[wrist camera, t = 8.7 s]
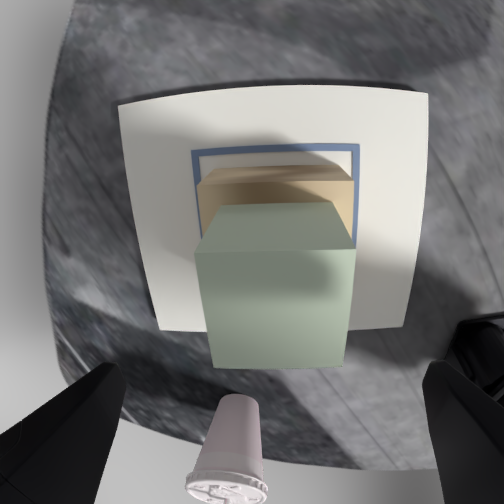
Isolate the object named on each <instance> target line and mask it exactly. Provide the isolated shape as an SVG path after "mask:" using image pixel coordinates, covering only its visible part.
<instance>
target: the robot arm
mask: <svg viewBox="0 0 504 504" xmlns="http://www.w3.org/2000/svg"><path fill="white" fill-rule="evenodd" d="M462 327H463V328H462ZM422 389H423V395H424V401H425V407H426V413H427V420H428V427H429V433H430V437H431V441H432V445H433V449H434V454H435V458H436V462H437V467H438V471H439V475H440V481H441V486H442V491H443V497H444V502H445V504H504V315H503V316H496V317H490V318H483V319H476V320H468V321H462V322H460V323H459V324H458V326H457V329H456V332H455V334H454V337H453V340H452V343H451V345H450V348H449V350H448V353H447V356H446V358H445V360H436V361H432V362H431V363H430V364H429V366H428V369H427V371H426V374H425V376H424V379H423V382H422ZM125 391H126V381H125V379H124V376H123V374H122V372H121V370H120V367H119V365H118V364H117V363H114V362H107V361H106V362H103V363H101V364H100V365H99V366H97V367H96V368H94V369H93V370H92V371H90V372H89V373H87V374H86V375H84V376H83V377H82V378H80V379H79V380H77V381H76V382H75V383H73V384H72V385H70V386H69V387H68V388H66V389H65V390H63V391H62V392H61V393H59V394H58V395H56V396H55V397H53V398H52V399H51V400H49V401H48V402H46V403H45V404H44V405H42V406H41V407H39V408H38V409H37V410H35V411H34V412H33V413H31V414H29V415H28V416H27V417H25V418H24V419H22V421H20V422H18V423H17V424H15V425H14V426H12V427H11V428H9V429H8V430H6V431H5V432H3V433H2V434H0V504H94V502H95V498H96V495H97V491H98V488H99V485H100V481H101V478H102V474H103V471H104V468H105V465H106V462H107V458H108V455H109V452H110V449H111V446H112V443H113V440H114V437H115V433H116V430H117V427H118V422H119V418H120V413H121V408H122V404H123V400H124V395H125Z"/></svg>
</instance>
